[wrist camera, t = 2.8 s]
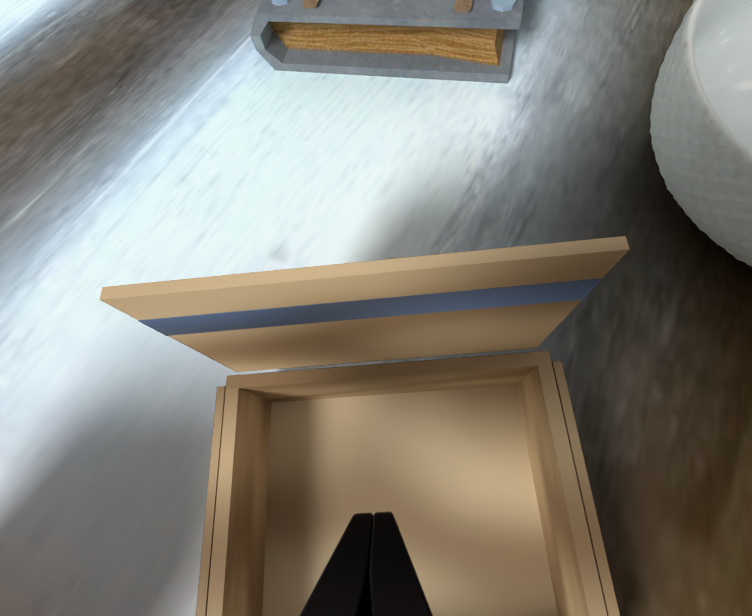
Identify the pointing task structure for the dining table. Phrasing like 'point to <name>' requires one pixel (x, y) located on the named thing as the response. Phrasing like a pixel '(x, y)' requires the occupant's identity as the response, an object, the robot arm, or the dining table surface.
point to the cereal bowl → (709, 121)
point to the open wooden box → (405, 486)
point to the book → (390, 37)
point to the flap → (375, 305)
